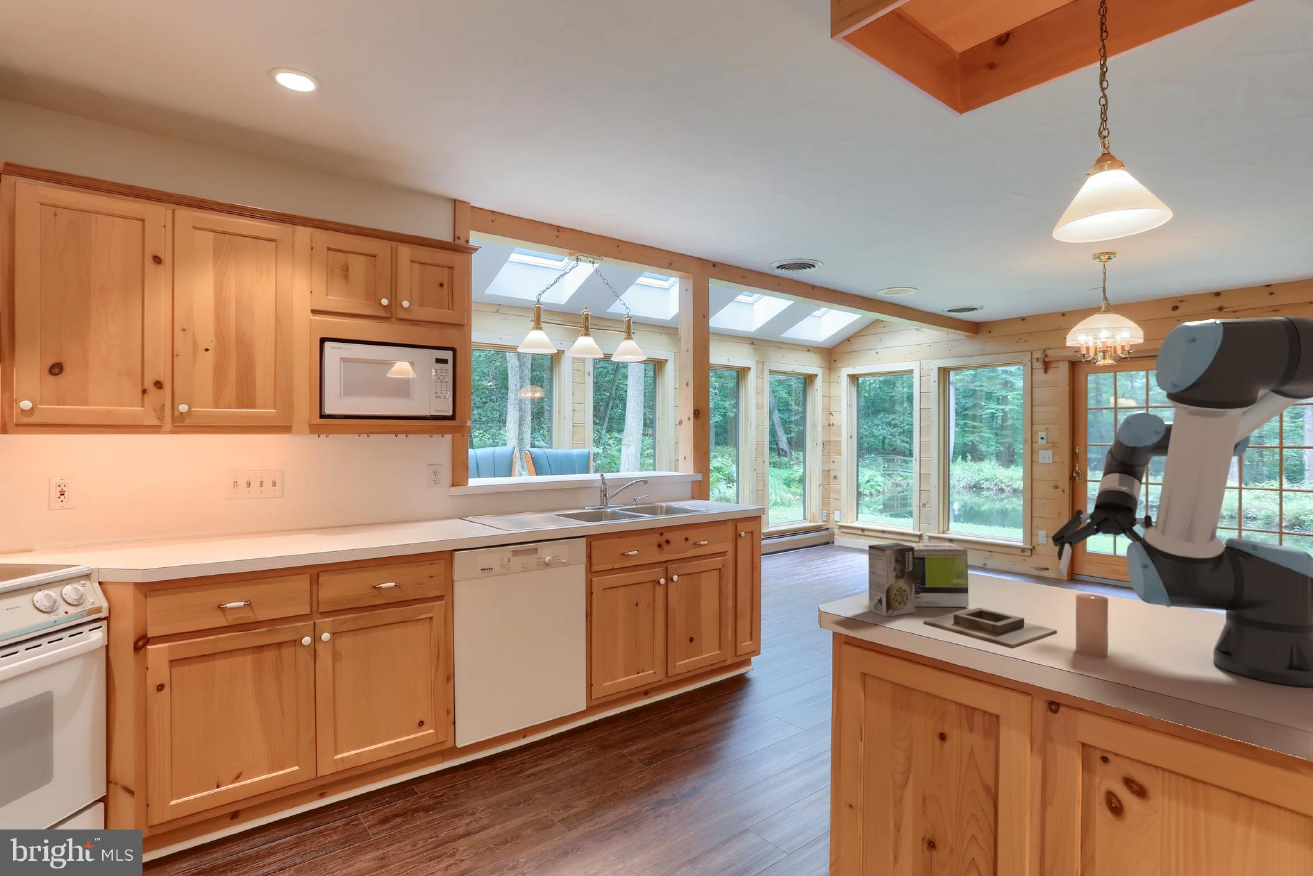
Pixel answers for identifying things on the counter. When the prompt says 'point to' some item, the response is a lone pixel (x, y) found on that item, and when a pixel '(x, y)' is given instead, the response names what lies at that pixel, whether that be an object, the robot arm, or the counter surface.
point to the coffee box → (891, 579)
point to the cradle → (991, 626)
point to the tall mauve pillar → (1092, 625)
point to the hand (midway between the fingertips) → (1100, 577)
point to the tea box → (940, 575)
